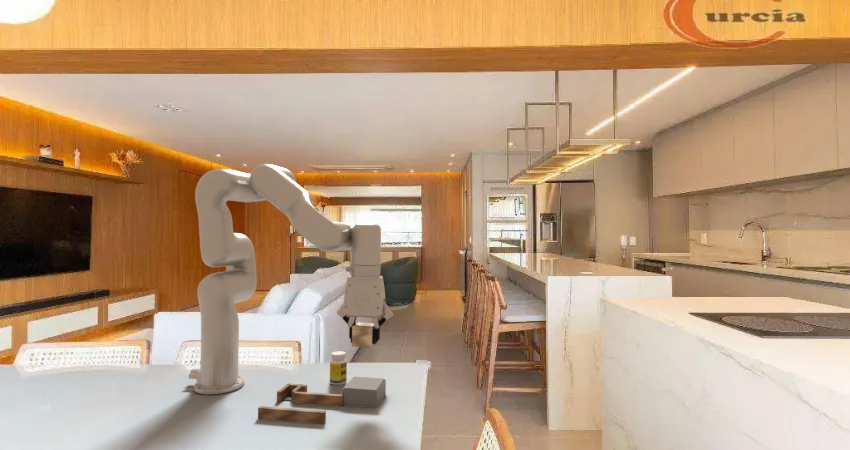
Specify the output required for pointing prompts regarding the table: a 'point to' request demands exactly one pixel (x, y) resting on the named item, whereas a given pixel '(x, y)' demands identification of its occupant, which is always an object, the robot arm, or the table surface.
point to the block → (362, 335)
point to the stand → (364, 392)
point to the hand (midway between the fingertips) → (364, 341)
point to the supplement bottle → (338, 368)
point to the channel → (302, 396)
